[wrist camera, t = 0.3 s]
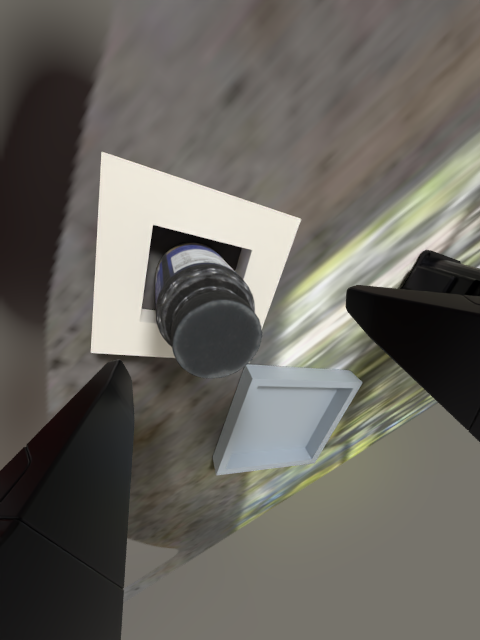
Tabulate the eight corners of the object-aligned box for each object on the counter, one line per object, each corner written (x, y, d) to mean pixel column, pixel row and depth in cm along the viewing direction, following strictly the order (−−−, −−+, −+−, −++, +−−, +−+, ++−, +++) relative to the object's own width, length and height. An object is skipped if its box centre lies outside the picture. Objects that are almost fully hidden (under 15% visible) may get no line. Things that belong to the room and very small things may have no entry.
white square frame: (287, 215, 22) (301, 218, 20) (242, 348, 27) (249, 362, 25) (108, 155, 16) (101, 151, 14) (97, 336, 22) (90, 352, 20)
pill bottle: (198, 318, 24) (226, 404, 15) (140, 284, 21) (128, 364, 12) (239, 268, 23) (297, 326, 13) (183, 223, 20) (208, 258, 10)
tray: (350, 370, 34) (362, 382, 32) (306, 448, 41) (314, 463, 38) (245, 364, 28) (252, 378, 26) (212, 457, 34) (216, 475, 32)
